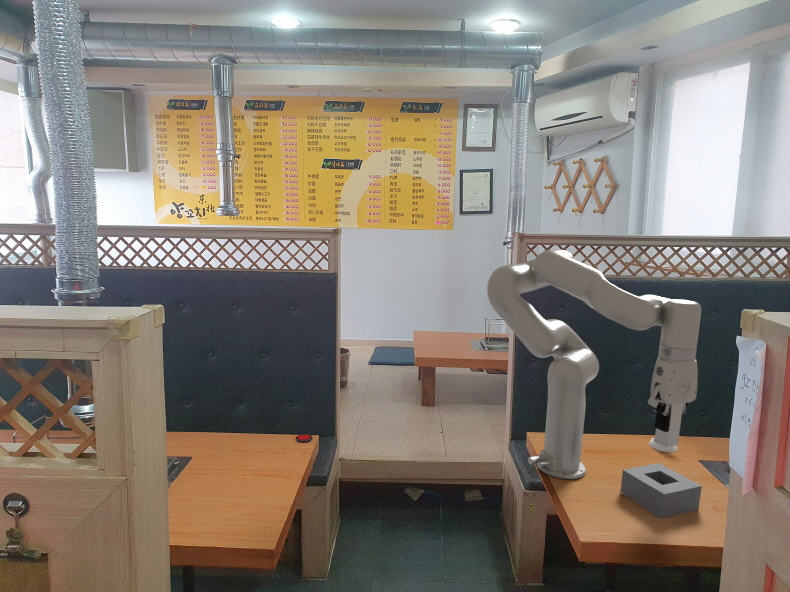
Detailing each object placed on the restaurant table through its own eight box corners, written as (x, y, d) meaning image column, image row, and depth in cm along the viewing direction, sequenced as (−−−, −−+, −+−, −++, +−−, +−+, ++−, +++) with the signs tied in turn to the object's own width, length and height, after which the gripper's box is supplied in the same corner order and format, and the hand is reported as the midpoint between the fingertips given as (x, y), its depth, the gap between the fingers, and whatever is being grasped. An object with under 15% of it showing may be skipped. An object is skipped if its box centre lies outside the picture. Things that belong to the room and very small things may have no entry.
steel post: (667, 447, 121) (673, 393, 119) (654, 441, 124) (660, 388, 123) (677, 445, 123) (684, 392, 121) (665, 439, 126) (671, 387, 124)
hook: (701, 437, 152) (686, 425, 150) (670, 464, 155) (656, 453, 153) (685, 422, 159) (671, 411, 157) (656, 448, 162) (642, 438, 160)
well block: (661, 518, 118) (664, 494, 117) (620, 492, 129) (622, 469, 128) (698, 509, 123) (701, 485, 122) (656, 485, 133) (658, 463, 133)
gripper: (664, 359, 114) (655, 439, 116) (717, 355, 120) (706, 431, 123) (637, 351, 121) (628, 426, 123) (688, 347, 127) (679, 419, 130)
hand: (667, 428), depth 123 cm, fingers closed on steel post, 3 cm apart
